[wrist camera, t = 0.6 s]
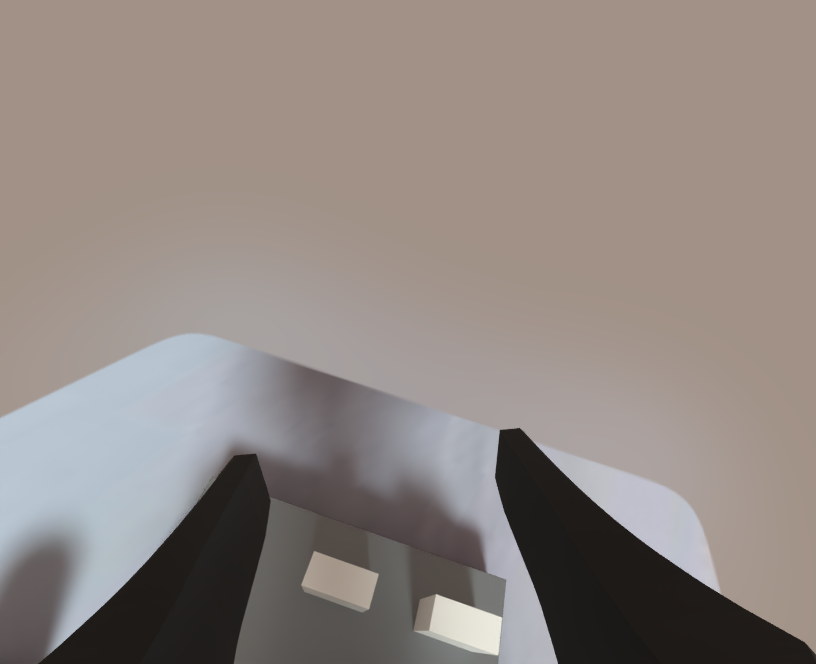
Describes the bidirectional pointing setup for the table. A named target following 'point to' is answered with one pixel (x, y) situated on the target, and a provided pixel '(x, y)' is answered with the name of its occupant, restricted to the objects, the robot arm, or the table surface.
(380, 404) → the table surface
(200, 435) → the table surface
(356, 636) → the block
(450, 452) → the table surface
